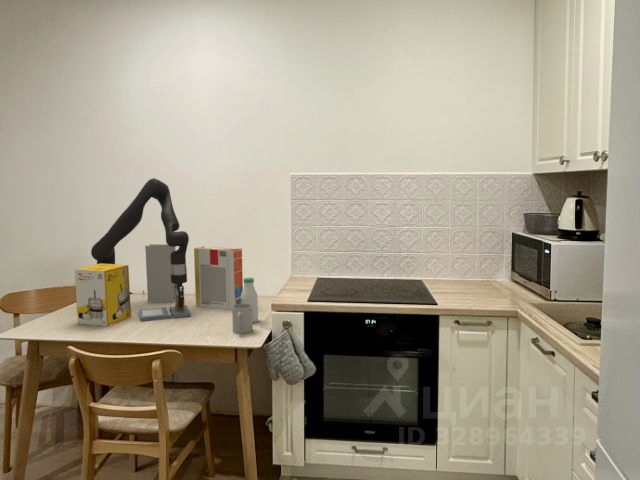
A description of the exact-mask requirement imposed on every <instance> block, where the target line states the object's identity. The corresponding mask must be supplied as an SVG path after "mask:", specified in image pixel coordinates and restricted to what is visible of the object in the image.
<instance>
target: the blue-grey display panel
mask: <svg viewBox="0 0 640 480" xmlns="http://www.w3.org/2000/svg"><path fill="white" fill-rule="evenodd" d="M138 317H139V322H140V321H141V322H149V321H158V320H159V321H160V320H169V319H170V320H171V319H172V318H173V316H172V313H171V311H170V306H165V307H164V306H163V307H154V308H153V307H152V308H143V309H142V308H141V309H138Z"/></svg>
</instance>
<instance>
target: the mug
mask: <svg viewBox="0 0 640 480" xmlns="http://www.w3.org/2000/svg"><path fill="white" fill-rule="evenodd" d="M231 313H232V332H233V333H235V334H238V335H239V334H240V335H241V334H243V335H244V334H250V333H252V332H253V331H254V329H253V328H254V326H253V323H252V305H251V304H236V305H233V306H232V310H231Z"/></svg>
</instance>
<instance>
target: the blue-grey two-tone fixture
mask: <svg viewBox="0 0 640 480" xmlns="http://www.w3.org/2000/svg"><path fill="white" fill-rule="evenodd" d="M174 304H175V305H174V306H173V305H172V306H169V310H170V312H171V316H172V318H173V319H175V318H177V319H178V318H184V317H185V318H187V317H191V316H192V313H191V311H190V309H189V308H188V307H189V306H188V305H185V299H184V300H183V308H179V305H178V297H175V300H174Z"/></svg>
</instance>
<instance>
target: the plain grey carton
mask: <svg viewBox="0 0 640 480" xmlns="http://www.w3.org/2000/svg"><path fill="white" fill-rule="evenodd" d="M176 250H177V249H176V247H170V246H169V245H168V244H149V245H145V266H146V267H145V269H146V288H147V289H146V290H147V302H151V303H153V302H154V303H155V302H156V303H175V297H176V293H175V284H173V283H171V270H170V268H171V257H170V255H171V253H172V252H174V251H176Z"/></svg>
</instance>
